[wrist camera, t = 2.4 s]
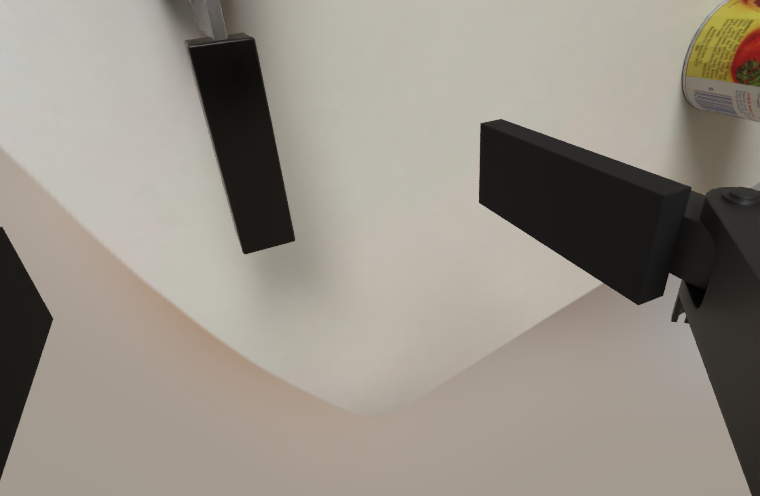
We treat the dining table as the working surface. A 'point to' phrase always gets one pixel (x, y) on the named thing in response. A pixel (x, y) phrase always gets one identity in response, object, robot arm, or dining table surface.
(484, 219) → the dining table surface
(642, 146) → the dining table surface
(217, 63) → the cake knife
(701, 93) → the canned food
